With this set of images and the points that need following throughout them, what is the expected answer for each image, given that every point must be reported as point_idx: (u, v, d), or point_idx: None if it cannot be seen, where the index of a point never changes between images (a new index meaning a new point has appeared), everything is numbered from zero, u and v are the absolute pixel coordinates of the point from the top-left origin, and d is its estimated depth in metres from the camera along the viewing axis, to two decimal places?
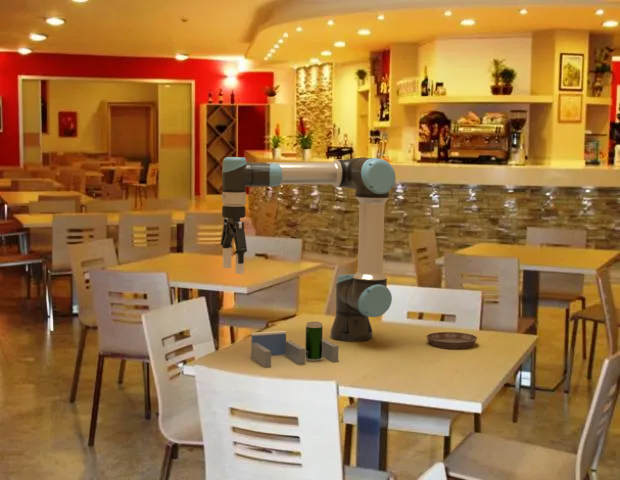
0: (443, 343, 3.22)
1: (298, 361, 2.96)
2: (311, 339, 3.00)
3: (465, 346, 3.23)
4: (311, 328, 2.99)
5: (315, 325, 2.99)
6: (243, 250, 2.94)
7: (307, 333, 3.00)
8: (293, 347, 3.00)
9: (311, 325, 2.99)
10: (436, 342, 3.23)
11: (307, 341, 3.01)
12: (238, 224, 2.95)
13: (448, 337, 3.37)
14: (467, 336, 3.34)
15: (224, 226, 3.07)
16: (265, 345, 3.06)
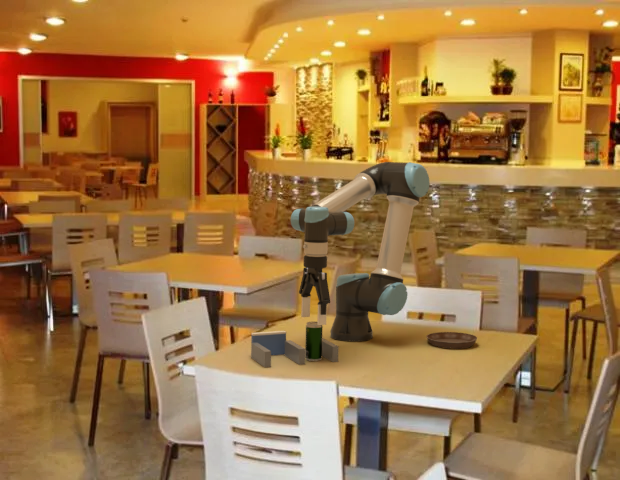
0: (443, 343, 3.22)
1: (298, 361, 2.96)
2: (311, 339, 3.00)
3: (465, 346, 3.23)
4: (311, 328, 2.99)
5: (315, 325, 2.99)
6: (326, 301, 2.91)
7: (307, 333, 3.00)
8: (293, 347, 3.00)
9: (311, 325, 2.99)
10: (436, 342, 3.23)
11: (307, 341, 3.01)
12: (321, 275, 2.93)
13: (448, 337, 3.37)
14: (467, 336, 3.34)
15: (304, 275, 3.05)
16: (265, 345, 3.06)
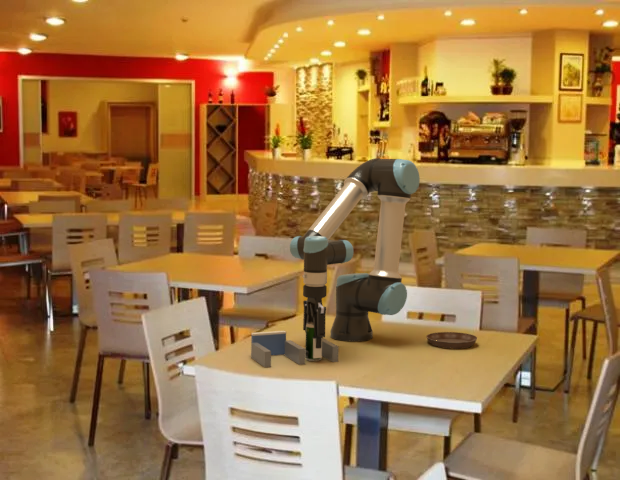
0: (443, 343, 3.22)
1: (298, 361, 2.96)
2: (311, 339, 3.00)
3: (465, 346, 3.23)
4: (311, 328, 2.99)
5: None
6: (321, 335, 2.96)
7: (307, 333, 3.00)
8: (293, 347, 3.00)
9: (311, 325, 2.99)
10: (436, 342, 3.23)
11: (307, 341, 3.01)
12: (320, 310, 2.95)
13: (448, 337, 3.37)
14: (467, 336, 3.34)
15: (305, 308, 3.05)
16: (265, 345, 3.06)
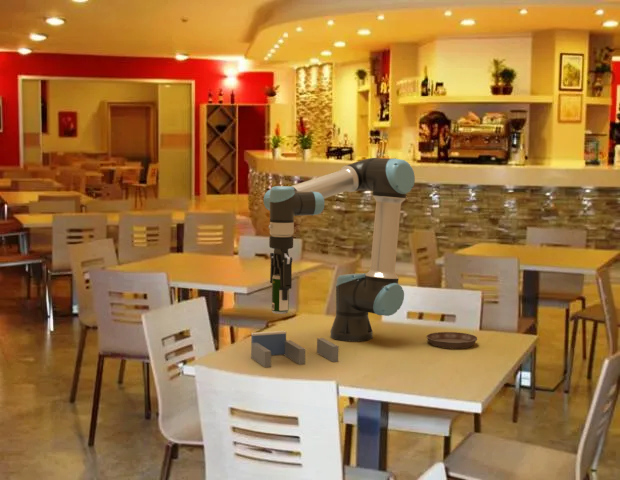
0: (443, 343, 3.22)
1: (298, 361, 2.96)
2: (277, 291, 2.93)
3: (465, 346, 3.23)
4: (277, 280, 2.93)
5: None
6: (287, 287, 2.90)
7: (273, 285, 2.94)
8: (293, 347, 3.00)
9: (277, 277, 2.93)
10: (436, 342, 3.23)
11: (273, 293, 2.94)
12: (286, 260, 2.89)
13: (448, 337, 3.37)
14: (467, 336, 3.34)
15: (271, 260, 2.99)
16: (265, 345, 3.06)
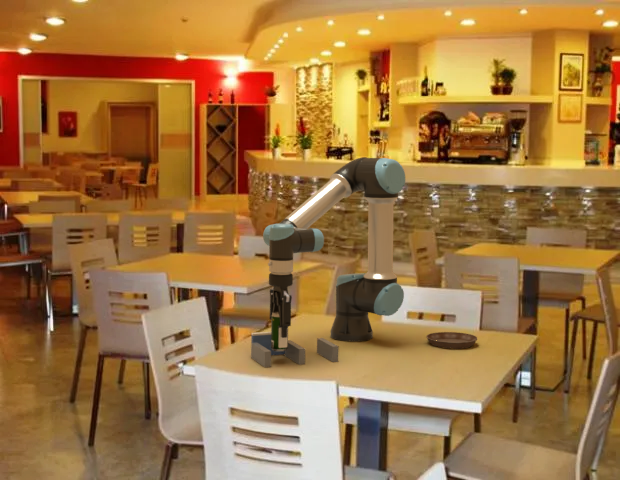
0: (443, 343, 3.22)
1: (298, 361, 2.96)
2: (277, 329, 2.95)
3: (465, 346, 3.23)
4: (276, 317, 2.94)
5: None
6: (287, 324, 2.91)
7: (272, 323, 2.95)
8: (293, 347, 3.00)
9: (276, 314, 2.95)
10: (436, 342, 3.23)
11: (272, 331, 2.96)
12: (286, 298, 2.90)
13: (448, 337, 3.37)
14: (467, 336, 3.34)
15: (271, 297, 3.00)
16: (265, 345, 3.06)
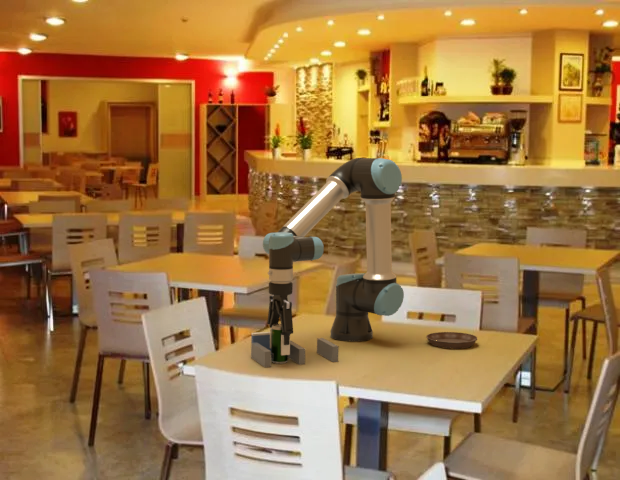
0: (443, 343, 3.22)
1: (298, 361, 2.96)
2: (277, 341, 2.95)
3: (465, 346, 3.23)
4: (276, 330, 2.95)
5: (280, 327, 2.95)
6: (289, 332, 2.90)
7: (272, 335, 2.96)
8: (293, 347, 3.00)
9: (276, 327, 2.95)
10: (436, 342, 3.23)
11: (272, 343, 2.96)
12: (286, 305, 2.90)
13: (448, 337, 3.37)
14: (467, 336, 3.34)
15: (270, 303, 3.01)
16: (265, 345, 3.06)
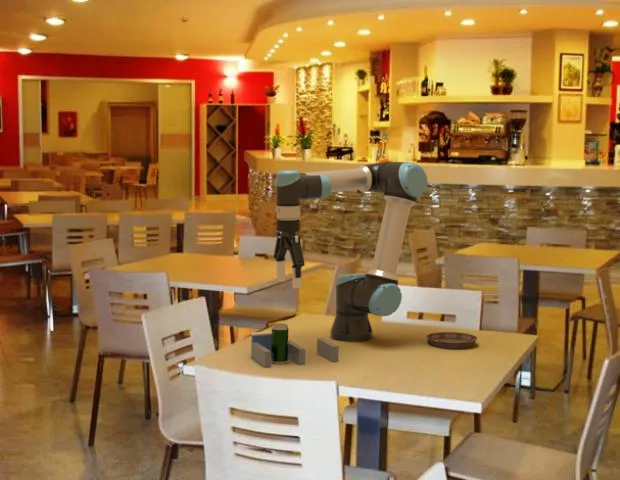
0: (443, 343, 3.22)
1: (298, 361, 2.96)
2: (277, 341, 2.95)
3: (465, 346, 3.23)
4: (276, 330, 2.95)
5: (280, 327, 2.95)
6: (301, 264, 2.92)
7: (272, 335, 2.96)
8: (293, 347, 3.00)
9: (276, 327, 2.95)
10: (436, 342, 3.23)
11: (272, 343, 2.96)
12: (294, 238, 2.94)
13: (448, 337, 3.37)
14: (467, 336, 3.34)
15: (277, 239, 3.06)
16: (265, 345, 3.06)
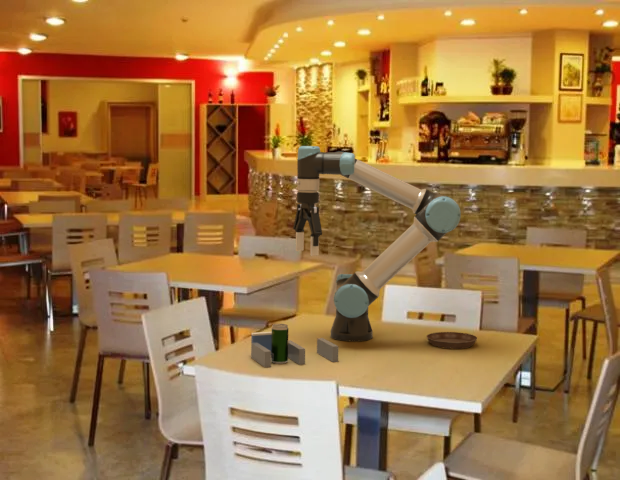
0: (443, 343, 3.22)
1: (298, 361, 2.96)
2: (277, 341, 2.95)
3: (465, 346, 3.23)
4: (276, 330, 2.95)
5: (280, 327, 2.95)
6: (318, 233, 3.12)
7: (272, 335, 2.96)
8: (293, 347, 3.00)
9: (276, 327, 2.95)
10: (436, 342, 3.23)
11: (272, 343, 2.96)
12: (313, 209, 3.14)
13: (448, 337, 3.37)
14: (467, 336, 3.34)
15: (297, 211, 3.25)
16: (265, 345, 3.06)
